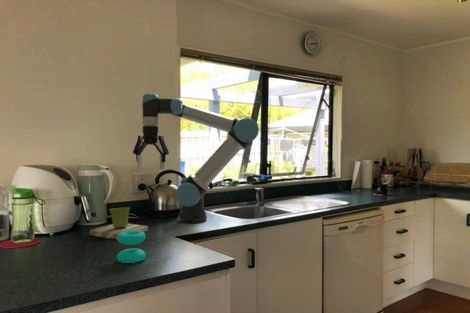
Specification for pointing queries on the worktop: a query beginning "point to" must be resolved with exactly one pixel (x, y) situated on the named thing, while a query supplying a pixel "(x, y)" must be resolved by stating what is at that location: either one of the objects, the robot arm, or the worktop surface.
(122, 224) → the plant pot
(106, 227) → the striped wooden cutting board
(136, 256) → the donuts
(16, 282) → the worktop surface
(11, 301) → the worktop surface
